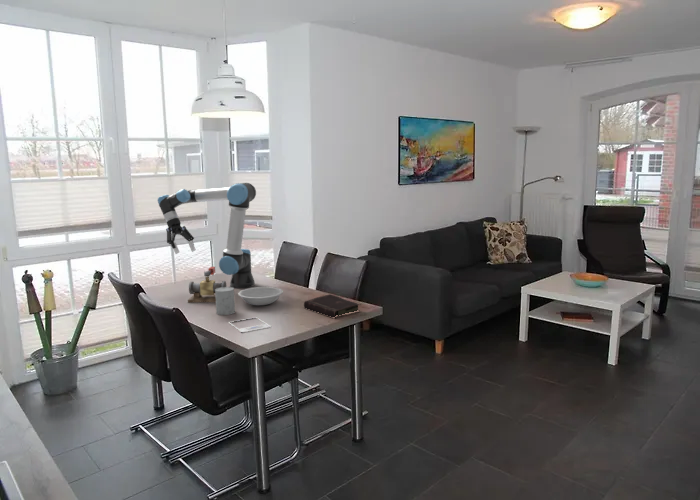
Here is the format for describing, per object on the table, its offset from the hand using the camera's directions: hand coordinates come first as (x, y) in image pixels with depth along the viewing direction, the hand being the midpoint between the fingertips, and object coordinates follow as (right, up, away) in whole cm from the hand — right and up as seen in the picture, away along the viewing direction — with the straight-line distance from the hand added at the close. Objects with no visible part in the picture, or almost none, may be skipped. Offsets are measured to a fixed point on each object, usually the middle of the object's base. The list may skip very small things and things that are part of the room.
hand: (185, 252), depth 307 cm
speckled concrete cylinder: (+33, -31, -40) cm, 61 cm away
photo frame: (+50, -35, -62) cm, 87 cm away
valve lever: (+18, -13, -12) cm, 25 cm away
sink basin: (+49, -28, -25) cm, 62 cm away
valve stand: (+18, -27, -16) cm, 36 cm away
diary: (+89, -31, -38) cm, 101 cm away
